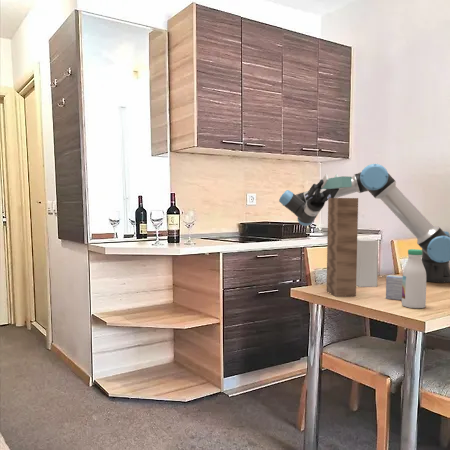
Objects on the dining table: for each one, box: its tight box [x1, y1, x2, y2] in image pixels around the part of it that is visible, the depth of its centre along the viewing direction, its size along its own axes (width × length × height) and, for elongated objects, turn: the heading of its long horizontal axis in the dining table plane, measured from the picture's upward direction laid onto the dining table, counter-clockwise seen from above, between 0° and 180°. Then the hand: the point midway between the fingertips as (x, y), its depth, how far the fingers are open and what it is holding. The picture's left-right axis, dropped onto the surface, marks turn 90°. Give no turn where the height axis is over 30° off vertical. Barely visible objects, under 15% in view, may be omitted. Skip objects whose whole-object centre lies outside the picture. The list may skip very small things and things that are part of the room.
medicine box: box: [385, 274, 403, 301], centre depth 164 cm, size 8×4×9 cm, turn 58°
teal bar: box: [320, 176, 353, 189], centre depth 177 cm, size 22×4×4 cm, turn 9°
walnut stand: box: [326, 197, 359, 298], centre depth 171 cm, size 10×8×38 cm
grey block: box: [356, 238, 379, 288], centre depth 192 cm, size 10×8×20 cm
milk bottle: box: [401, 248, 427, 309], centre depth 152 cm, size 8×8×20 cm
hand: (332, 176), depth 180 cm, fingers closed on teal bar, 4 cm apart
